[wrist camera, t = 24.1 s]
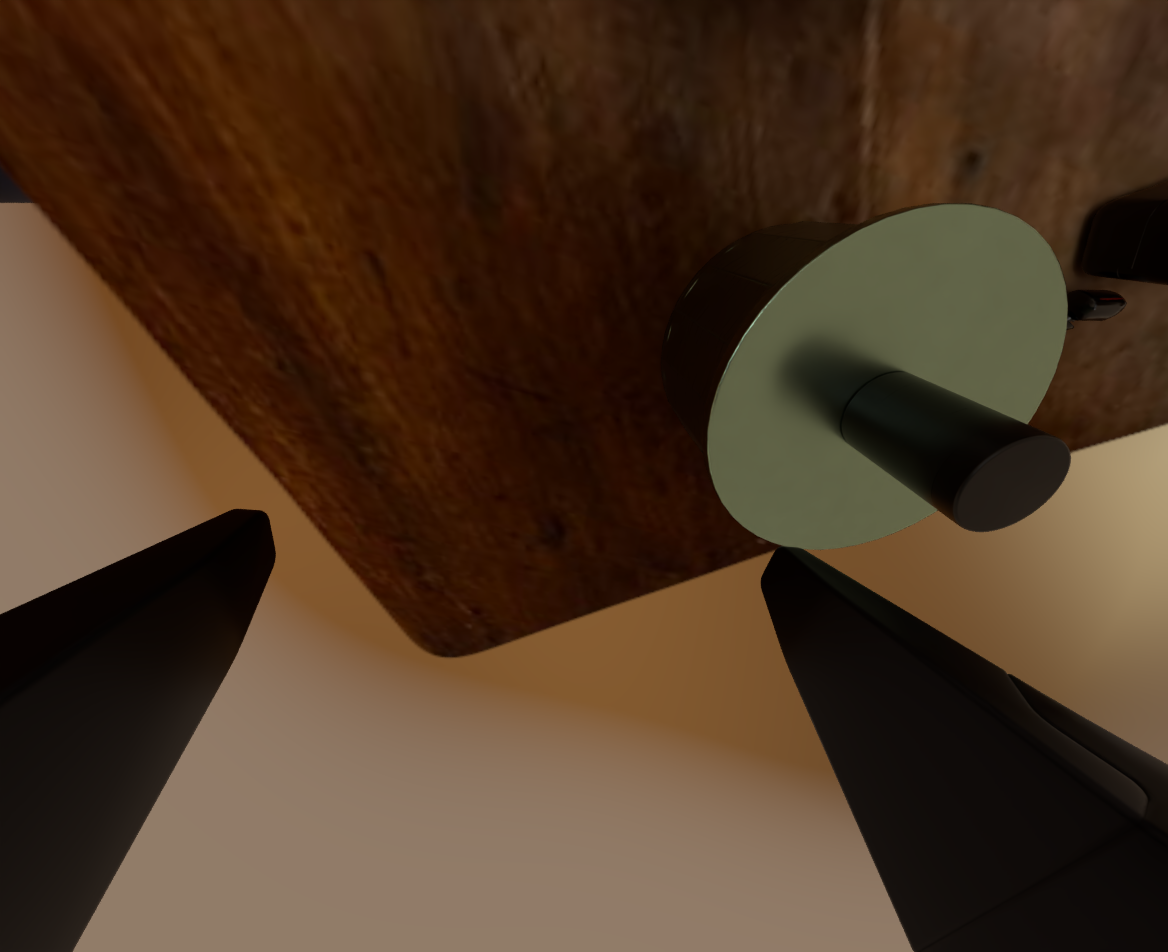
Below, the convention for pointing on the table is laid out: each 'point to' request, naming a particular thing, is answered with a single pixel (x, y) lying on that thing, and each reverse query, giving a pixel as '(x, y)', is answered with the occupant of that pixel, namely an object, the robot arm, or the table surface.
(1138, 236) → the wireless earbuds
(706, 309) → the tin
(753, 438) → the lid
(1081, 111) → the table surface
